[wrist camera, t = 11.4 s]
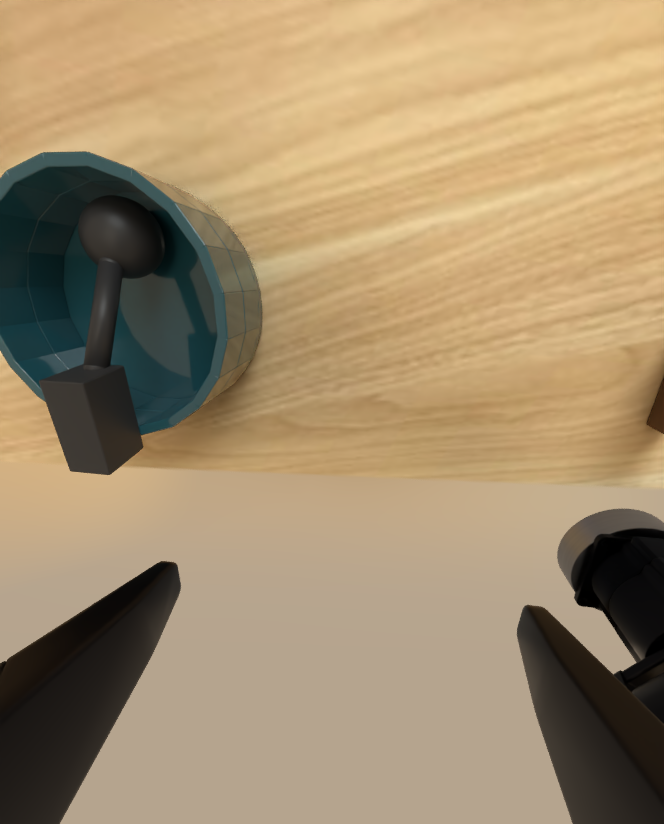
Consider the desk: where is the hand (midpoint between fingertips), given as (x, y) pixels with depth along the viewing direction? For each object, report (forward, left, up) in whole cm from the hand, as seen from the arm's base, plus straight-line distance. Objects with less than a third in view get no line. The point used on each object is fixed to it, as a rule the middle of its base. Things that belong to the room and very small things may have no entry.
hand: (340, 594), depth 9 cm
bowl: (+6, +12, -13) cm, 19 cm away
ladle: (+5, +12, -13) cm, 18 cm away
